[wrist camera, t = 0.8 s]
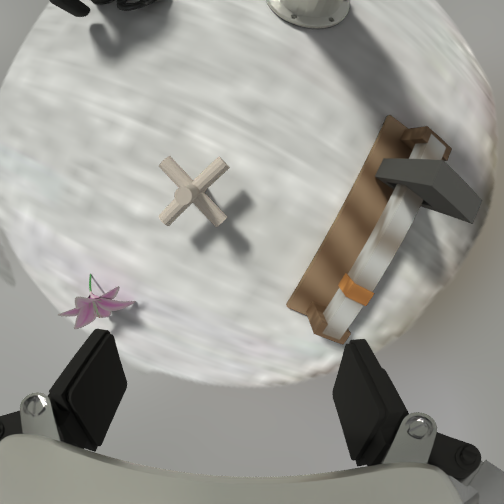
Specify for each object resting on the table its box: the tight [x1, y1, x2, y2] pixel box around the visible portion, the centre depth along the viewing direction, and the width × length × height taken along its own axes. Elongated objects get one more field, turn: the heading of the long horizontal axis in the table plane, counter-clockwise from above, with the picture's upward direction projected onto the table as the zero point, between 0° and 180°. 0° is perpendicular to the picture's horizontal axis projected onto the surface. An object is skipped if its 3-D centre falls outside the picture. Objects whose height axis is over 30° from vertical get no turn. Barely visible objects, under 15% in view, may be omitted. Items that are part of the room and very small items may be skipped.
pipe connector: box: [159, 156, 230, 227], centre depth 32 cm, size 10×10×10 cm
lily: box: [58, 274, 136, 329], centre depth 38 cm, size 12×12×10 cm
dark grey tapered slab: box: [375, 158, 482, 224], centre depth 29 cm, size 3×8×14 cm, turn 64°
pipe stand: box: [286, 115, 452, 345], centre depth 35 cm, size 32×11×7 cm, turn 154°
